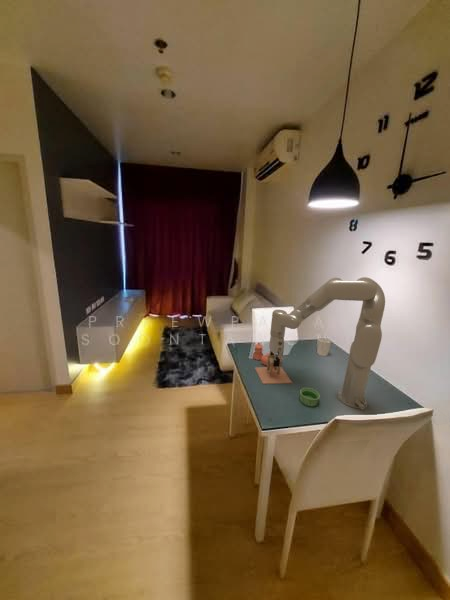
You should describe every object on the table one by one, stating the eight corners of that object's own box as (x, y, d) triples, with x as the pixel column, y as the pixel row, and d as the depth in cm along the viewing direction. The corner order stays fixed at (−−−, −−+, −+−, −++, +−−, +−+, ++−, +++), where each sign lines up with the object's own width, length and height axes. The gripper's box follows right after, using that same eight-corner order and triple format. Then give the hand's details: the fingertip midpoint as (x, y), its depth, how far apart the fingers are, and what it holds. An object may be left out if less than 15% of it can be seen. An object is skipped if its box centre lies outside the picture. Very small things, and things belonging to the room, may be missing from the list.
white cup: (322, 350, 174) (324, 337, 171) (331, 355, 166) (333, 342, 164) (313, 352, 171) (315, 338, 168) (321, 357, 164) (324, 343, 161)
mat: (291, 383, 132) (291, 382, 132) (263, 384, 130) (263, 383, 129) (280, 367, 147) (280, 366, 147) (254, 368, 145) (254, 367, 145)
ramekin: (305, 408, 113) (306, 400, 112) (295, 396, 121) (296, 388, 120) (322, 406, 115) (323, 398, 114) (311, 394, 124) (313, 386, 122)
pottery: (281, 363, 151) (283, 348, 149) (273, 368, 144) (274, 353, 142) (258, 354, 163) (259, 340, 161) (249, 358, 157) (250, 343, 154)
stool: (280, 374, 136) (281, 359, 133) (269, 375, 135) (271, 360, 132) (276, 369, 141) (277, 354, 139) (266, 369, 140) (267, 354, 138)
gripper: (290, 339, 124) (286, 371, 129) (278, 327, 141) (275, 355, 145) (276, 339, 123) (272, 371, 128) (265, 327, 140) (262, 356, 144)
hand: (274, 363), depth 137 cm, fingers closed on stool, 5 cm apart
